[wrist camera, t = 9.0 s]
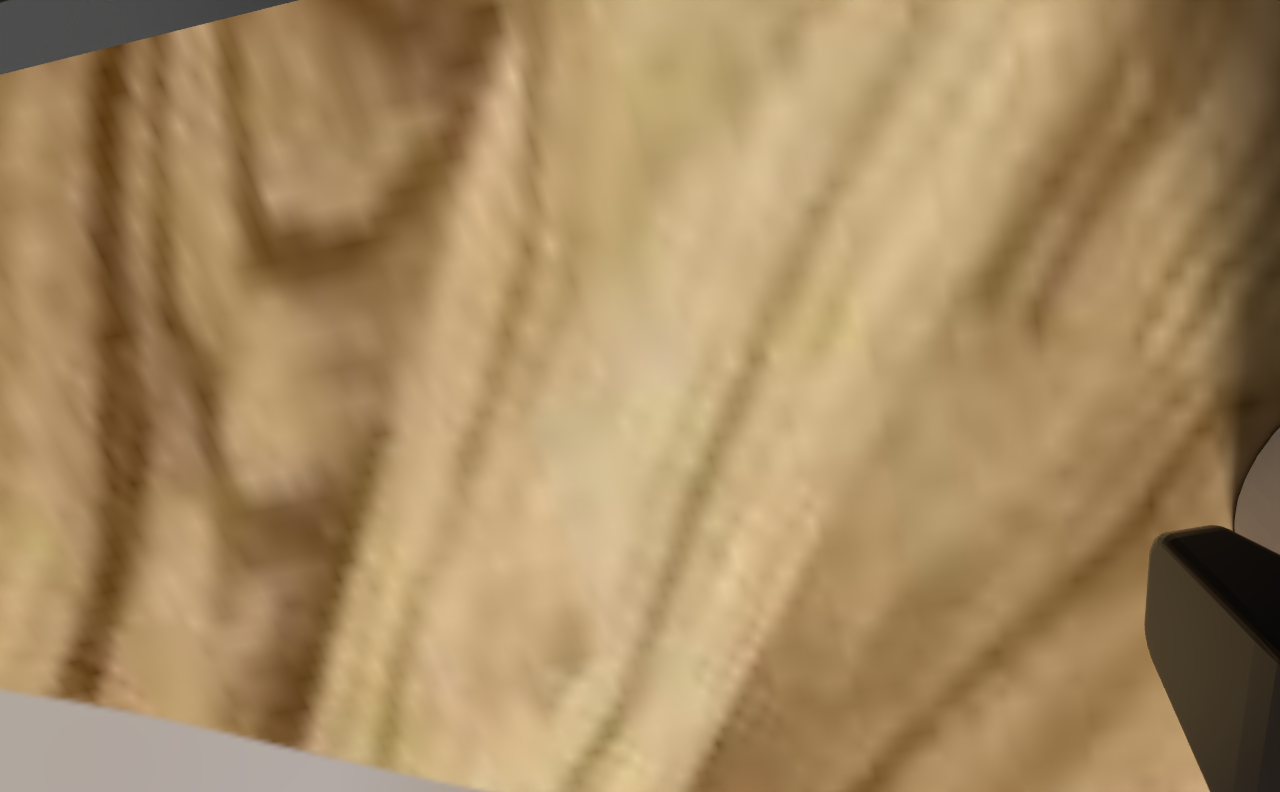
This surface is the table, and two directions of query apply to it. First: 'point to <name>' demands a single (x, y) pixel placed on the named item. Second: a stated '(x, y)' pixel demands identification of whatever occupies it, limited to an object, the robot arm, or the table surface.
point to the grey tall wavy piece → (1262, 498)
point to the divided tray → (99, 24)
